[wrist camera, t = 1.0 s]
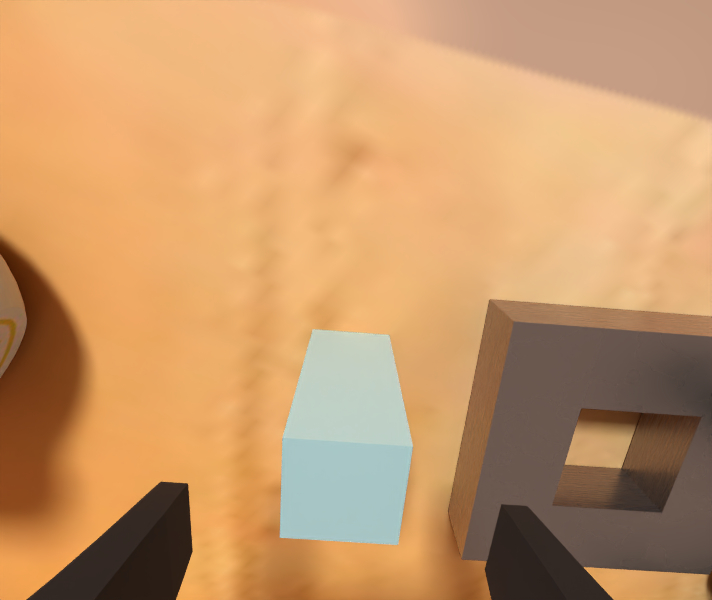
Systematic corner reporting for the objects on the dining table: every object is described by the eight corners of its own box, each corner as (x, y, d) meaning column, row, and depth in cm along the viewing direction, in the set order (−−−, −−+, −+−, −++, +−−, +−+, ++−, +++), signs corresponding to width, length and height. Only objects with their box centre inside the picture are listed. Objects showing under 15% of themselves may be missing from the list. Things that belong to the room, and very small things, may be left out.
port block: (448, 511, 19) (461, 559, 17) (489, 299, 16) (513, 321, 13) (665, 525, 19) (709, 574, 17) (752, 319, 16) (822, 344, 14)
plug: (309, 396, 17) (279, 537, 10) (313, 329, 16) (282, 437, 9) (381, 401, 17) (398, 545, 10) (389, 335, 16) (412, 446, 9)
